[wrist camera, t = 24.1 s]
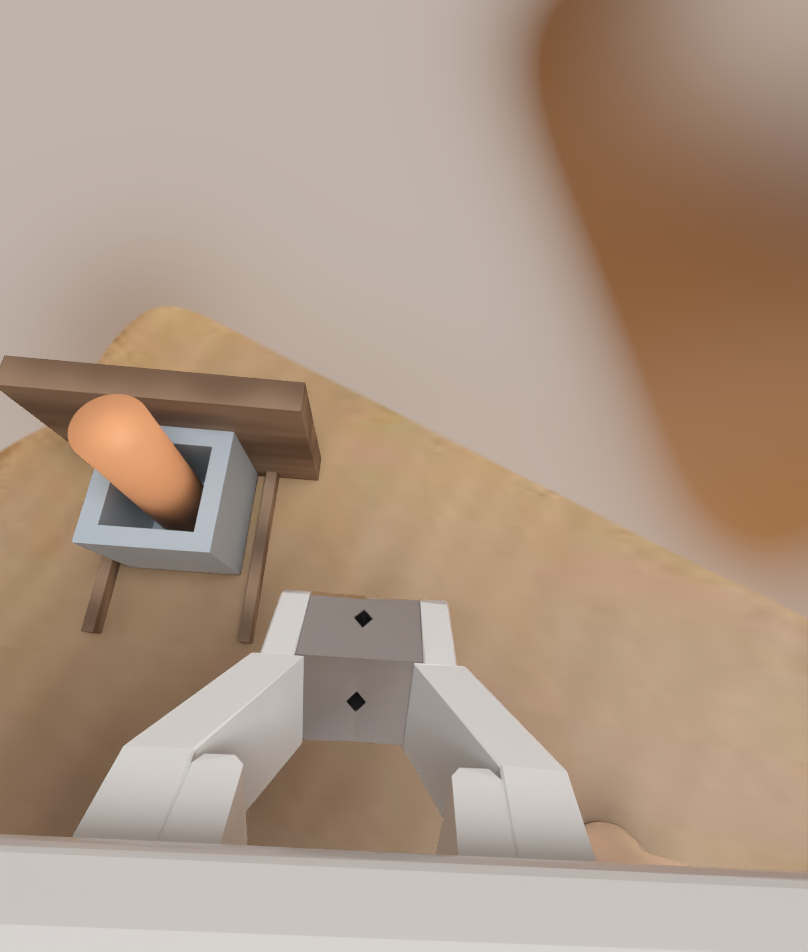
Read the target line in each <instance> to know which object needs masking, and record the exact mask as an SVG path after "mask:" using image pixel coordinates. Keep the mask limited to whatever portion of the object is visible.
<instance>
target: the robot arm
mask: <svg viewBox="0 0 808 952" xmlns="http://www.w3.org/2000/svg"><path fill="white" fill-rule="evenodd" d="M353 738H354V740H353ZM302 740H330V741H357V742H369V743H380V744H392V745H403V749H404V751H405V753H406V754H407V756H408V758H409V760H410V761H411V763H412V765H413V767H414V768H415V770H416V772H417V774H418V775H419V777H420V779H421V781H422V782H423V784H424V786H425V788H426V789H427V791H428V793H429V795H430V796H431V798H432V800H433V802H434V803H435V805H436V807H437V808H438V810H439V812H440V814H441V815H442V817H443V821H442V826H441V831H440V836H439V841H438V846H437V851H436V854H416V853H395V852H375V851H354V850H333V849H312V848H291V847H270V846H249V845H247V826H246V811H247V810H248V808H249V807H250V806H251V805H252V804H253V802H254V801H255V800H256V799H257V797H258V796H259V795H260V794H261V793H262V791H263V790H264V789H265V788H266V787H267V785H268V784H269V783H270V782H271V780H272V779H273V778H274V777H275V776H276V774H277V773H278V772H279V771H280V770H281V768H282V767H283V766H284V765H285V764H286V762H287V761H288V760H289V759H290V757H291V756H292V755H293V754H294V753H295V751H296V750H297V749H298V748H299V747H300V745H301V744H302ZM0 952H808V872H805V871H784V870H763V869H742V868H720V867H699V866H678V865H657V864H636V863H615V862H596V859H595V856H594V853H593V850H592V847H591V844H590V841H589V838H588V835H587V832H586V829H585V826H584V822H583V819H582V816H581V813H580V810H579V807H578V804H577V801H576V798H575V795H574V792H573V789H572V786H571V782H570V779H569V776H568V773H567V771H566V770H565V769H564V768H563V767H562V766H561V765H560V764H559V763H558V762H557V761H556V760H555V759H554V758H553V757H552V756H551V755H550V754H549V752H548V751H547V750H546V749H545V748H544V747H543V746H542V745H541V744H540V743H539V742H538V741H537V740H536V739H535V738H534V737H533V736H532V735H531V734H530V733H529V732H528V731H527V730H526V729H525V728H524V727H523V726H522V725H521V724H520V722H519V721H518V720H517V719H516V718H515V717H514V716H513V715H512V714H511V713H510V712H509V711H508V710H507V709H506V708H505V707H504V706H503V705H502V704H501V703H500V702H499V701H498V700H497V699H496V698H495V697H494V696H493V695H492V694H491V693H490V691H489V690H488V689H487V688H486V687H485V686H484V685H483V684H482V683H481V682H480V681H479V680H478V679H477V678H476V677H475V676H474V675H473V674H472V673H471V672H470V671H469V670H468V669H467V668H466V667H465V666H457V663H456V656H455V649H454V642H453V635H452V628H451V622H450V615H449V608H448V603H447V602H446V601H443V600H420V599H419V600H406V599H390V598H375V597H366V596H355V595H344V594H334V593H323V592H310V591H297V590H284V591H283V592H282V593H281V595H280V598H279V600H278V603H277V606H276V609H275V612H274V615H273V618H272V620H271V623H270V626H269V629H268V632H267V635H266V637H265V640H264V643H263V646H262V649H261V652H260V653H250V654H249V655H247V656H246V657H245V658H243V659H242V660H241V661H239V662H238V663H236V664H235V665H234V666H232V667H231V668H230V669H228V670H227V671H225V672H224V673H223V674H221V675H220V676H219V677H217V678H216V679H214V680H213V681H212V682H210V683H209V684H208V685H206V686H205V687H204V688H202V689H201V690H199V691H198V692H197V693H195V694H194V695H193V696H191V697H190V698H188V699H187V700H186V701H184V702H183V703H182V704H180V705H179V706H177V707H176V708H175V709H173V710H172V711H171V712H169V713H168V714H167V715H165V716H164V717H162V718H161V719H160V720H158V721H157V722H156V723H154V724H153V725H151V726H150V727H149V728H147V729H146V730H145V731H143V732H142V733H140V734H139V735H138V736H136V737H135V738H134V739H132V740H131V741H130V742H128V743H127V744H125V745H124V746H123V748H122V750H121V751H120V753H119V755H118V757H117V758H116V760H115V762H114V764H113V765H112V767H111V769H110V771H109V772H108V774H107V776H106V778H105V780H104V781H103V783H102V785H101V787H100V788H99V790H98V792H97V794H96V795H95V797H94V799H93V801H92V802H91V804H90V806H89V808H88V809H87V811H86V813H85V815H84V817H83V818H82V820H81V822H80V824H79V825H78V827H77V829H76V831H75V832H74V834H73V836H72V837H58V836H37V835H16V834H0Z"/></svg>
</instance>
